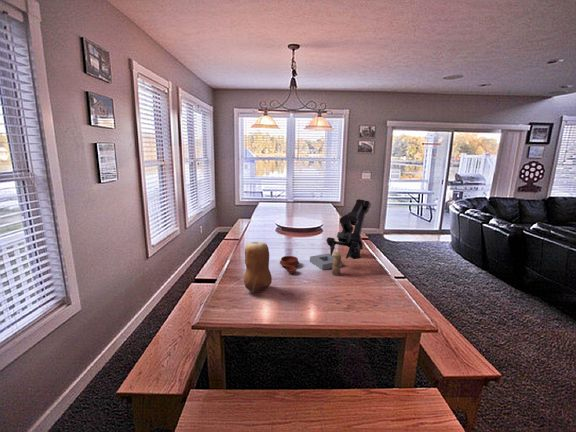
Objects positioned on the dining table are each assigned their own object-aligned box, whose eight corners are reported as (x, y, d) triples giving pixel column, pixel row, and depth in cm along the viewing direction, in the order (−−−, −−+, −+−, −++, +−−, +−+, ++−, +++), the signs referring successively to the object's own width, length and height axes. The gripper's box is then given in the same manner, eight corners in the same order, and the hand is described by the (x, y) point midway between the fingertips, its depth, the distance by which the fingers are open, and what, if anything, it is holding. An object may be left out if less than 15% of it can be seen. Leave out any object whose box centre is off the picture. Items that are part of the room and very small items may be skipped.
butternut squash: (257, 281, 155) (258, 236, 149) (277, 290, 146) (277, 242, 141) (237, 291, 144) (237, 242, 138) (257, 300, 136) (257, 249, 130)
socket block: (328, 258, 190) (328, 253, 189) (341, 266, 178) (342, 260, 177) (309, 261, 184) (310, 256, 183) (322, 270, 172) (322, 264, 171)
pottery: (297, 261, 183) (298, 255, 182) (302, 275, 164) (302, 268, 163) (279, 262, 182) (279, 255, 181) (281, 276, 163) (281, 268, 162)
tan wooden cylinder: (336, 272, 169) (338, 251, 167) (341, 275, 166) (343, 254, 163) (330, 273, 167) (331, 252, 165) (335, 276, 163) (336, 255, 161)
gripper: (328, 223, 171) (319, 246, 165) (360, 228, 162) (352, 253, 156) (332, 233, 180) (324, 256, 173) (362, 239, 171) (355, 262, 164)
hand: (338, 256), depth 166 cm, fingers open, 9 cm apart
